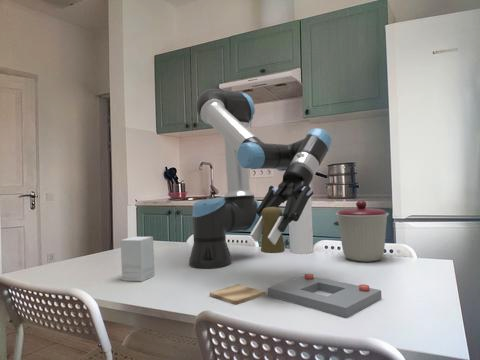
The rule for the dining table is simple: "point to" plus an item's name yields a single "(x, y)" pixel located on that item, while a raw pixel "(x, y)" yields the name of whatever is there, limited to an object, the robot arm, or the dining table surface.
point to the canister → (362, 232)
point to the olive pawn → (270, 218)
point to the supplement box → (137, 258)
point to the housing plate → (339, 303)
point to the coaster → (237, 294)
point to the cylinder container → (302, 231)
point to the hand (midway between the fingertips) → (262, 239)
